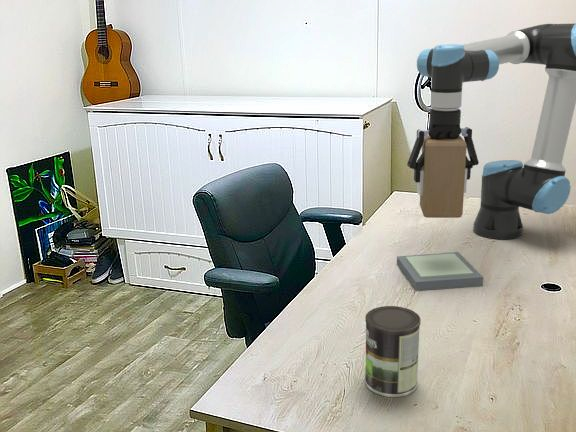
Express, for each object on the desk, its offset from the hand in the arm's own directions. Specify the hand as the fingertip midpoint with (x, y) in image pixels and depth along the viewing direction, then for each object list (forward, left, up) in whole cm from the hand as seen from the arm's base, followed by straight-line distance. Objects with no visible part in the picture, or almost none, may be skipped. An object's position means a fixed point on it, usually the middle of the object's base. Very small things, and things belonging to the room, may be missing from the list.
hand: (441, 192), depth 165 cm
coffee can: (+26, +49, -23) cm, 60 cm away
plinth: (0, 0, -23) cm, 23 cm away
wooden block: (0, 0, -6) cm, 6 cm away
